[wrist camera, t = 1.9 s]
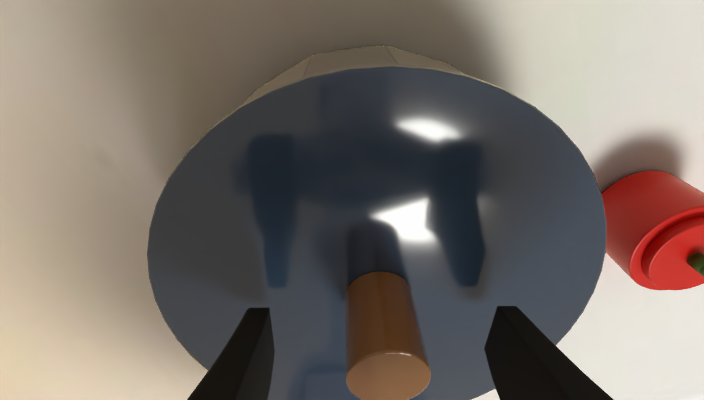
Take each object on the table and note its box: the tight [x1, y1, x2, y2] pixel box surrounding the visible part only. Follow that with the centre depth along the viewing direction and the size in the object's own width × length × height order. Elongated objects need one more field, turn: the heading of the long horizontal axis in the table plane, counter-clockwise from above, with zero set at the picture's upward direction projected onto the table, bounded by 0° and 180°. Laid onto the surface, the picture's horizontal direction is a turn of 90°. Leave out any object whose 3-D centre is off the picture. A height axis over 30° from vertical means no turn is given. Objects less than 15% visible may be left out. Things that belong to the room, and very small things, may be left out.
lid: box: [147, 63, 607, 400], centre depth 12 cm, size 16×16×4 cm
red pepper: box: [601, 171, 704, 290], centre depth 18 cm, size 5×5×5 cm
